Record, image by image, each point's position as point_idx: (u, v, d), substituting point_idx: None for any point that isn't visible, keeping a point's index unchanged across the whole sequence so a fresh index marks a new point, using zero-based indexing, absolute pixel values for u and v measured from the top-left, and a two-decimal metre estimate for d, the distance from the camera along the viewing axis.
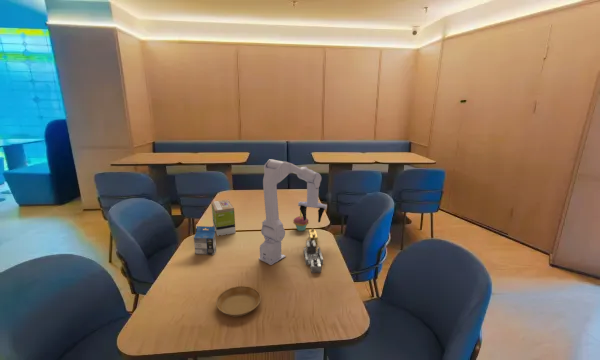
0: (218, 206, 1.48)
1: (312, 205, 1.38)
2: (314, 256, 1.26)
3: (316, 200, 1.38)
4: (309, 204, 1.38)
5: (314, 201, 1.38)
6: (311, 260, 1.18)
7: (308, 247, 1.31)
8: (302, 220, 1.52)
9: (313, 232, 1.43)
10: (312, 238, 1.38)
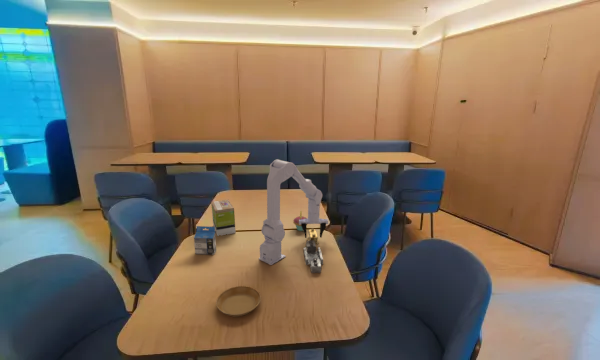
0: (218, 206, 1.48)
1: (315, 222, 1.38)
2: (314, 256, 1.26)
3: (318, 216, 1.38)
4: (312, 221, 1.37)
5: (317, 217, 1.38)
6: (311, 260, 1.18)
7: (308, 247, 1.31)
8: None
9: (313, 232, 1.43)
10: (312, 238, 1.38)
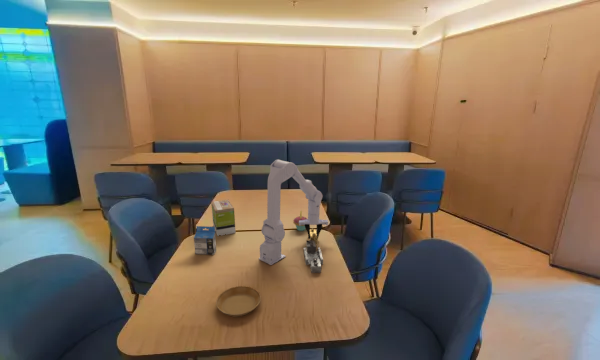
0: (218, 206, 1.48)
1: (315, 223, 1.38)
2: (314, 256, 1.26)
3: (318, 217, 1.39)
4: (312, 222, 1.38)
5: (317, 218, 1.38)
6: (311, 260, 1.18)
7: (308, 247, 1.31)
8: None
9: (313, 232, 1.43)
10: (312, 238, 1.38)
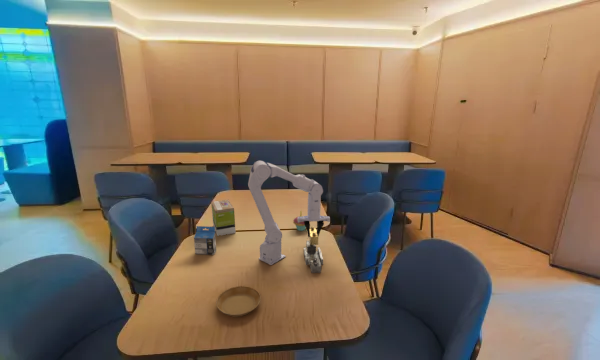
0: (218, 206, 1.48)
1: (316, 219, 1.24)
2: (314, 256, 1.26)
3: (319, 213, 1.25)
4: (312, 218, 1.24)
5: (318, 214, 1.24)
6: (311, 260, 1.18)
7: (308, 247, 1.31)
8: None
9: (313, 231, 1.30)
10: (312, 237, 1.25)
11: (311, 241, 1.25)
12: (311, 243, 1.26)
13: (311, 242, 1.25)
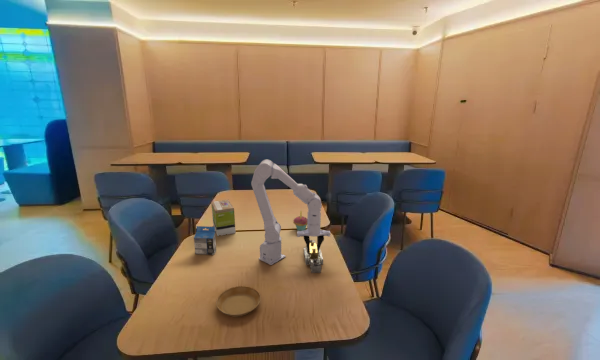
0: (218, 206, 1.48)
1: (316, 234, 1.20)
2: None
3: (319, 228, 1.21)
4: (312, 233, 1.20)
5: (318, 229, 1.20)
6: (311, 260, 1.18)
7: None
8: (302, 220, 1.52)
9: (313, 246, 1.26)
10: (312, 254, 1.21)
11: (311, 257, 1.21)
12: None
13: (311, 258, 1.22)
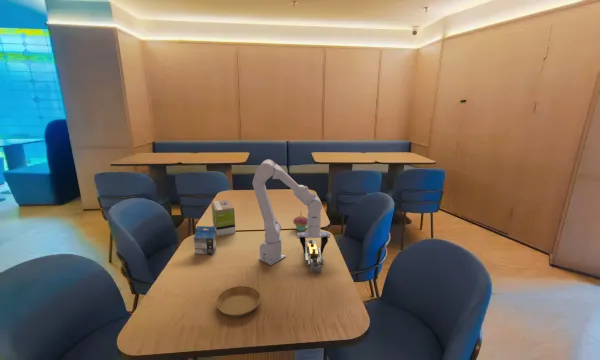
0: (218, 206, 1.48)
1: (316, 236, 1.20)
2: None
3: (319, 229, 1.21)
4: (312, 235, 1.20)
5: (318, 231, 1.20)
6: (311, 260, 1.18)
7: None
8: (302, 220, 1.52)
9: (313, 247, 1.27)
10: (312, 254, 1.21)
11: (311, 258, 1.22)
12: None
13: None
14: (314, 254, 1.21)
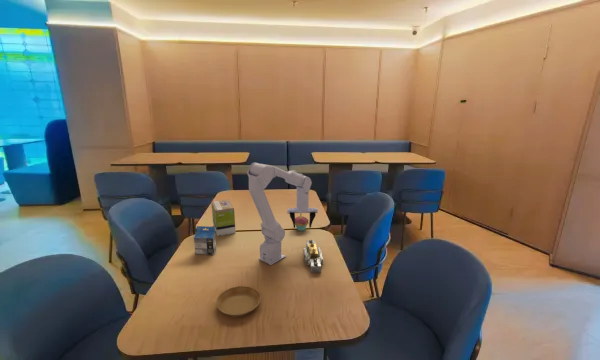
0: (218, 206, 1.48)
1: (304, 211, 1.31)
2: None
3: (307, 205, 1.32)
4: (301, 210, 1.31)
5: (306, 206, 1.31)
6: (311, 260, 1.18)
7: None
8: (302, 220, 1.52)
9: (313, 247, 1.27)
10: (312, 254, 1.21)
11: (311, 258, 1.22)
12: None
13: None
14: (314, 254, 1.21)
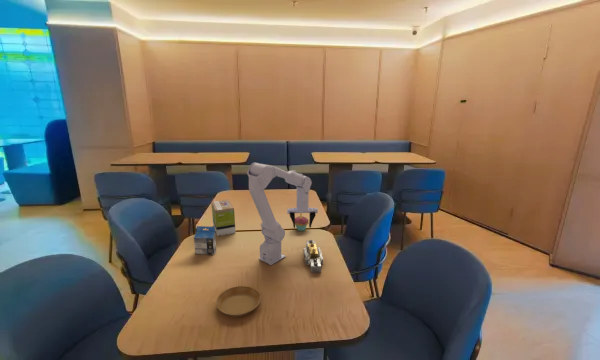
0: (218, 206, 1.48)
1: (304, 211, 1.31)
2: None
3: (307, 205, 1.32)
4: (301, 210, 1.31)
5: (306, 206, 1.31)
6: (311, 260, 1.18)
7: None
8: (302, 220, 1.52)
9: (313, 247, 1.27)
10: (312, 254, 1.21)
11: (311, 258, 1.22)
12: None
13: None
14: (314, 254, 1.21)
